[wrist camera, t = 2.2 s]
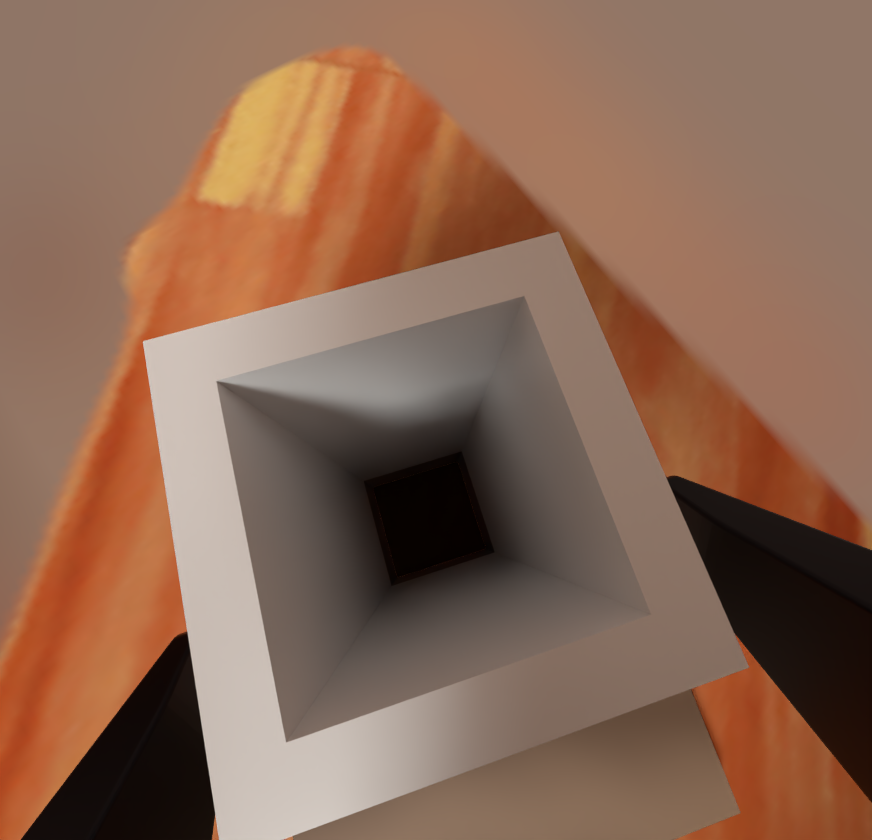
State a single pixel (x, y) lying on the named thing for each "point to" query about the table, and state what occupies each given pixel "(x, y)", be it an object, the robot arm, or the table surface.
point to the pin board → (570, 788)
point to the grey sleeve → (369, 550)
